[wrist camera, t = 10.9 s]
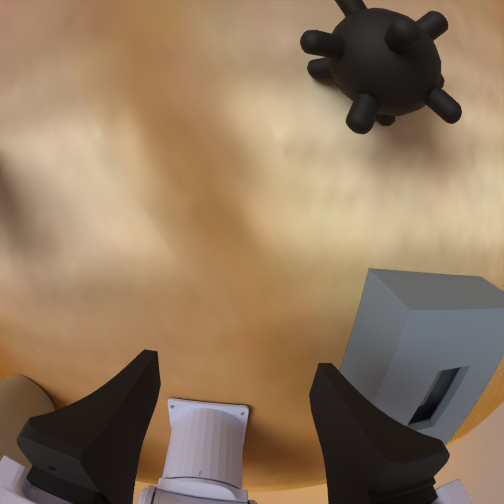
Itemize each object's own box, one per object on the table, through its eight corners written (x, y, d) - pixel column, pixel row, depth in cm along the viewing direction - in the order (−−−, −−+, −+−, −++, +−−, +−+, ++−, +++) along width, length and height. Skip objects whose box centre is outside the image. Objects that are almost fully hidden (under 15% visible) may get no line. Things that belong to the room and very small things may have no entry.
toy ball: (443, 176, 17) (307, 169, 14) (380, 93, 21) (259, 74, 18) (520, 76, 8) (391, -17, 5) (425, 5, 13) (292, -48, 10)
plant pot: (-19, 337, 24) (-86, 406, 9) (62, 370, 25) (-4, 477, 10) (14, 412, 28) (-27, 479, 13) (90, 445, 29) (58, 531, 14)
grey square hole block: (422, 408, 28) (444, 446, 22) (320, 421, 27) (333, 471, 21) (480, 276, 23) (524, 306, 16) (368, 268, 22) (410, 310, 15)
